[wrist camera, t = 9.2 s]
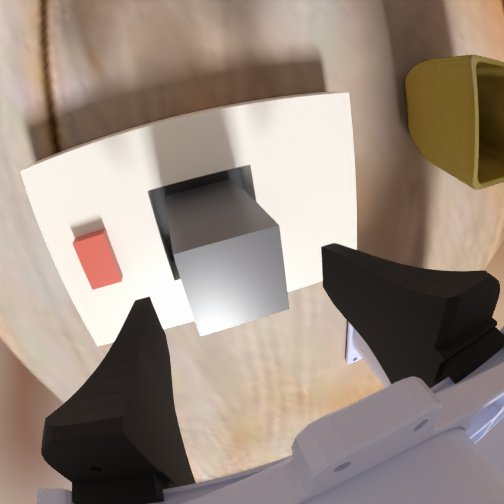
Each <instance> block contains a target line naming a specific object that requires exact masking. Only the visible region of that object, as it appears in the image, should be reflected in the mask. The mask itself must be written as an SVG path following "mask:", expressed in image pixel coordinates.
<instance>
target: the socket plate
mask: <svg viewBox="0 0 504 504" xmlns="http://www.w3.org/2000/svg"><path fill="white" fill-rule="evenodd" d="M20 173H21V176H22V179H23V182H24V185H25V188H26V191H27V194H28V197H29V200H30V203H31V206H32V209H33V211H34V214H35V217H36V220H37V222H38V225H39V227H40V230H41V232H42V235H43V237H44V240H45V242H46V245H47V247H48V249H49V252H50V254H51V256H52V259H53V261H54V263H55V265H56V268H57V270H58V272H59V274H60V276H61V278H62V280H63V283H64V285H65V287H66V289H67V291H68V293H69V295H70V297H71V299H72V301H73V303H74V305H75V307H76V309H77V310H78V312H79V314H80V316H81V318H82V320H83V322H84V323H85V325H86V327H87V329H88V331H89V332H90V334H91V336H92V338H93V339H94V341H95V343H96V345H97V346H101V345H105V344H109V343H113V342H114V341H115V340H116V338H117V336H118V334H119V332H120V330H121V328H122V326H123V324H124V322H125V320H126V318H127V316H128V314H129V312H130V310H131V308H132V306H133V304H134V302H135V300H139V299H142V298H146V297H149V296H150V299H151V301H152V304H153V306H154V309H155V311H156V313H157V316H158V318H159V321H160V323H161V325H162V328H163V329H166V328H170V327H174V326H177V325H181V324H184V323H188V322H191V321H195V320H194V317H193V314H192V311H191V309H190V306H189V303H188V300H187V297H186V294H185V291H184V287H183V284H182V281H181V278H180V275H179V272H178V269H177V266H176V262H175V259H174V256H173V251H172V245H171V238H170V231H169V225H168V218H167V210H166V203H165V196H167V195H170V194H174V193H178V192H181V191H185V190H189V189H193V188H197V187H200V186H204V185H208V184H212V183H216V182H220V181H224V180H228V179H234V180H235V181H236V182H237V183H238V184H239V185H240V186H241V187H242V188H243V189H244V190H245V191H246V192H247V193H248V194H249V195H250V196H251V197H252V198H253V199H254V200H255V201H256V202H257V203H258V204H259V205H260V206H261V207H262V208H263V209H264V210H265V211H266V212H267V213H268V214H269V215H270V216H271V217H272V218H273V219H274V220H275V222H276V223H277V224H278V225H279V228H280V236H281V243H282V251H283V259H284V268H285V276H286V284H287V292H290V291H293V290H296V289H299V288H303V287H306V286H309V285H312V284H315V283H318V282H321V281H323V274H322V254H321V247H322V246H325V245H329V244H332V243H336V244H340V245H343V246H346V247H349V248H352V249H355V250H357V205H356V177H355V158H354V143H353V130H352V119H351V108H350V98H349V92H317V93H307V94H298V95H289V96H281V97H274V98H267V99H260V100H254V101H248V102H242V103H236V104H230V105H225V106H220V107H215V108H210V109H205V110H200V111H196V112H191V113H187V114H183V115H178V116H174V117H170V118H166V119H162V120H158V121H155V122H151V123H147V124H144V125H140V126H136V127H133V128H130V129H126V130H123V131H120V132H116V133H113V134H110V135H107V136H104V137H101V138H98V139H95V140H92V141H89V142H86V143H83V144H80V145H77V146H75V147H72V148H69V149H67V150H64V151H61V152H59V153H56V154H54V155H51V156H48V157H46V158H43V159H41V160H39V161H36V162H35V163H33V164H31V165H30V166H28V167H26V168H25V169H23V170H21V171H20Z"/></svg>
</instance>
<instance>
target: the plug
mask: <svg viewBox="0 0 504 504" xmlns="http://www.w3.org/2000/svg"><path fill="white" fill-rule="evenodd" d="M165 203H166V210H167V218H168V225H169V231H170V238H171V245H172V251H173V256H174V259H175V262H176V266H177V269H178V272H179V275H180V278H181V281H182V284H183V287H184V291H185V294H186V297H187V300H188V303H189V306H190V309H191V311H192V314H193V317H194V320H195V323H196V326H197V329H198V332H199V334H200V336H203V335H207V334H210V333H213V332H217V331H220V330H224V329H227V328H230V327H234V326H237V325H240V324H243V323H247V322H250V321H253V320H256V319H259V318H262V317H266V316H269V315H272V314H275V313H278V312H281V311H284V310H287V309H289V301H288V293H287V284H286V276H285V268H284V259H283V251H282V243H281V236H280V228H279V225H278V224H277V223H276V222H275V220H274V219H273V218H272V217H271V216H270V215H269V214H268V213H267V212H266V211H265V210H264V209H263V208H262V207H261V206H260V205H259V204H258V203H257V202H256V201H255V200H254V199H253V198H252V197H251V196H250V195H249V194H248V193H247V192H246V191H245V190H244V189H243V188H242V187H241V186H240V185H239V184H238V183H237V182H236V181H235V180H234V179H228V180H224V181H220V182H216V183H212V184H208V185H204V186H200V187H197V188H193V189H189V190H185V191H181V192H178V193H174V194H170V195H167V196H165Z"/></svg>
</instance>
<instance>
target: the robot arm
mask: <svg viewBox="0 0 504 504" xmlns="http://www.w3.org/2000/svg"><path fill="white" fill-rule="evenodd" d="M321 254H322V274H323V287H324V289H325V291H326V292H327V294H328V296H329V297H330V299H331V301H332V302H333V304H334V305H335V306H336V307H337V309H338V310H339V311H340V312H341V313H342V315H343V316H344V317H345V318H346V319H347V320H348V334H347V352H346V362H347V363H348V364H351V363H353V362H356V361H358V360H360V359H363V360H364V361H365V362H366V364H367V365H368V366H369V368H370V369H371V370H372V372H373V373H374V374H375V375H376V377H377V378H378V379H379V381H380V382H381V383H382V384H383V386H384V387H385V388H384V389H382V390H380V391H378V392H376V393H374V394H372V395H370V396H368V397H365V398H363V399H361V400H359V401H357V402H355V403H353V404H350V405H348V406H346V407H344V408H342V409H339V410H337V411H335V412H332V413H330V414H328V415H325V416H323V417H322V418H320V419H318V420H316V421H314V422H312V423H311V424H309V425H308V426H307V427H306V428H304V429H303V430H302V431H301V432H300V433H299V434H298V435H297V436H296V438H295V441H294V443H293V446H292V454H293V455H292V456H289V457H286V458H283V459H281V460H278V461H275V462H272V463H269V464H266V465H262V466H259V467H256V468H253V469H249V470H246V471H243V472H239V473H236V474H232V475H228V476H224V477H220V478H216V479H212V480H208V481H204V482H199V483H195V480H194V477H193V474H192V471H191V468H190V465H189V461H188V458H187V455H186V452H185V448H184V444H183V441H182V437H181V433H180V429H179V425H178V421H177V416H176V412H175V406H174V399H173V388H172V377H171V365H170V355H169V349H168V344H167V340H166V335H165V332H164V330H163V328H162V325H161V323H160V321H159V318H158V316H157V313H156V311H155V309H154V306H153V304H152V301H151V299H150V296H149V297H146V298H142V299H139V300H135V302H134V304H133V306H132V308H131V310H130V312H129V314H128V316H127V318H126V320H125V322H124V324H123V326H122V328H121V330H120V332H119V334H118V336H117V338H116V340H115V341H114V343H113V345H112V347H111V348H110V350H109V352H108V353H107V355H106V356H105V358H104V359H103V361H102V362H101V363H100V365H99V366H98V368H97V369H96V370H95V371H94V373H93V374H92V375H91V376H90V377H89V379H88V380H87V381H86V382H85V383H84V384H83V386H82V387H81V388H80V389H79V390H78V391H77V392H76V393H75V394H74V395H73V396H72V397H71V398H70V399H69V400H68V401H66V402H65V403H64V404H63V405H62V406H61V407H60V408H58V409H57V410H56V411H54V413H52V414H51V415H49V416H48V417H47V418H46V419H45V426H44V431H43V440H42V448H41V451H42V452H41V453H42V456H43V458H44V460H45V461H46V462H47V463H48V464H49V465H50V466H51V467H52V468H54V469H55V470H56V471H58V472H59V473H60V474H61V475H63V476H64V477H65V478H67V479H68V480H70V481H71V482H72V491H71V490H68V489H62V488H39V489H37V504H504V326H503V328H502V329H501V330H500V331H499V330H498V329H497V328H496V327H495V326H496V325H497V321H496V320H494V319H493V318H492V316H493V313H494V310H495V307H496V304H497V301H498V297H499V293H500V284H499V281H498V280H497V279H496V278H495V277H493V276H492V275H490V274H489V273H487V272H486V271H440V270H431V269H423V268H417V267H412V266H408V265H403V264H399V263H395V262H392V261H388V260H385V259H382V258H378V257H375V256H372V255H369V254H366V253H364V252H361V251H358V250H355V249H352V248H349V247H346V246H343V245H340V244H336V243H332V244H329V245H325V246H322V247H321Z"/></svg>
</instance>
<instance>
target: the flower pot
mask: <svg viewBox="0 0 504 504" xmlns="http://www.w3.org/2000/svg"><path fill="white" fill-rule="evenodd" d="M405 89H406V99H407V111H408V128H409V133H410V136H411V138H412V140H413V142H414V144H415V145H416V147H417V148H418V150H419V151H420V152H421V153H422V154H423V155H424V156H425V157H426V158H427V159H428V160H429V161H430V162H431V163H433V164H434V165H436V166H437V167H439V168H441V169H442V170H444V171H446V172H447V173H449V174H450V175H452V176H454V177H455V178H457V179H459V180H460V181H462V182H464V183H465V184H467V185H468V186H470V187H472V188H473V189H475V190H479V189H483V188H486V187H490V186H493V185H495V184H499V183H502V182H504V62H501V61H497V60H494V59H489V58H485V57H482V56H478V55H465V56H456V57H446V58H438V59H431V60H427V61H423V62H421V63H419V64H417V65H416V66H414V67H413V68H412V69H411V70H410V71H409V73H408V74H407V76H406V78H405Z"/></svg>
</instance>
